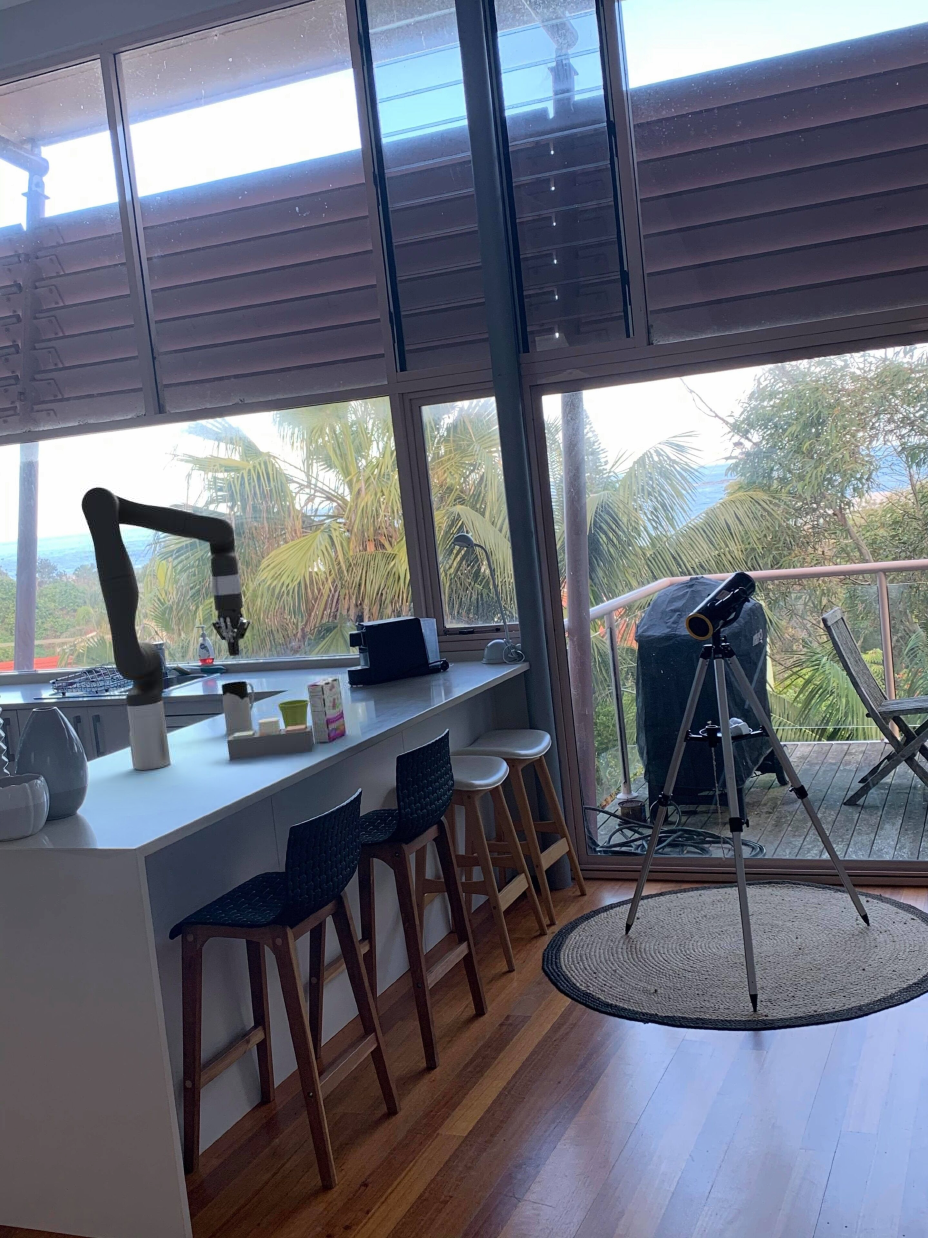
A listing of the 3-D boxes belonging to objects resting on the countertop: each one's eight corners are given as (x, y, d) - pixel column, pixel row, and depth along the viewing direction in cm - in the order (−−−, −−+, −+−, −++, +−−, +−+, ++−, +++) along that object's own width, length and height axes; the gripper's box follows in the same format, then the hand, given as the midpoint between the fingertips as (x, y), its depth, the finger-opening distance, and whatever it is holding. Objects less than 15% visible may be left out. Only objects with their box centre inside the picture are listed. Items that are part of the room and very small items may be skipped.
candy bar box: (330, 734, 326) (324, 678, 324) (346, 734, 324) (340, 677, 323) (313, 743, 315) (306, 684, 314) (329, 742, 314) (322, 683, 312)
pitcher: (219, 735, 344) (213, 686, 343) (245, 725, 358) (239, 678, 356) (244, 734, 341) (238, 685, 340) (269, 725, 354) (263, 677, 353)
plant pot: (315, 726, 342) (312, 698, 341) (308, 733, 333) (305, 703, 332) (285, 729, 343) (281, 701, 342) (277, 735, 334) (273, 706, 333)
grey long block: (229, 760, 303) (226, 738, 302) (233, 754, 311) (230, 733, 310) (312, 750, 304) (310, 729, 304) (314, 745, 312) (311, 724, 312)
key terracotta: (288, 748, 305) (285, 730, 305) (289, 744, 310) (287, 726, 310) (306, 746, 306) (304, 727, 305) (307, 742, 311) (305, 724, 310)
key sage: (235, 754, 304) (233, 736, 304) (237, 751, 309) (235, 733, 309) (254, 752, 305) (252, 734, 304) (256, 748, 310) (254, 730, 309)
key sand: (260, 741, 305) (258, 722, 304) (262, 737, 310) (260, 719, 309) (279, 738, 305) (277, 720, 305) (280, 735, 310) (278, 717, 309)
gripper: (200, 594, 310) (207, 657, 312) (233, 593, 302) (241, 657, 304) (221, 591, 316) (228, 653, 318) (254, 589, 308) (261, 653, 310)
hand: (234, 655), depth 311 cm, fingers closed
